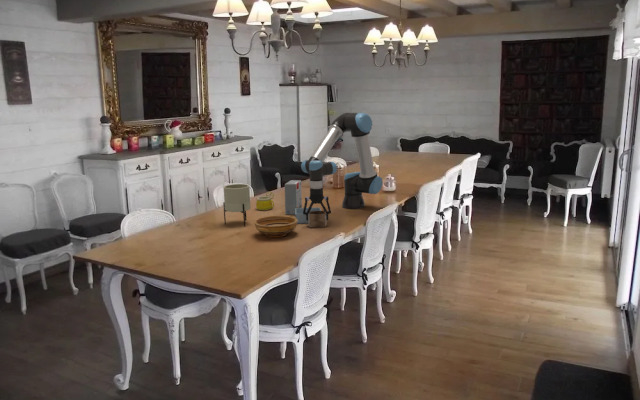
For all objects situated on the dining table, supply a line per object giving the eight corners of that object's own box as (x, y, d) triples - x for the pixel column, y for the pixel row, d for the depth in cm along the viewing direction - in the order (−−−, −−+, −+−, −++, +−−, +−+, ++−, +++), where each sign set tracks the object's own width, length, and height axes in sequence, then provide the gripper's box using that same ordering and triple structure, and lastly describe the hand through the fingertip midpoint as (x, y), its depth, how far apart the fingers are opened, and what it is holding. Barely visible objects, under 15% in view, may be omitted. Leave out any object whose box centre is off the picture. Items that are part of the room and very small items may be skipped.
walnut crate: (324, 223, 318) (324, 210, 317) (325, 227, 310) (325, 214, 308) (309, 224, 318) (309, 211, 316) (309, 228, 309) (309, 214, 308)
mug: (253, 210, 357) (252, 192, 354) (261, 207, 367) (260, 189, 364) (270, 211, 352) (269, 193, 350) (277, 208, 362) (277, 190, 360)
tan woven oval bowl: (279, 244, 280) (279, 229, 278) (242, 238, 291) (241, 224, 290) (308, 230, 305) (308, 216, 303) (273, 225, 316) (273, 212, 315)
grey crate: (320, 216, 335) (320, 207, 334) (321, 222, 320) (321, 213, 319) (295, 217, 335) (295, 208, 333) (295, 223, 319) (295, 214, 318)
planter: (256, 221, 328) (254, 184, 323) (242, 227, 314) (240, 189, 309) (235, 219, 334) (233, 183, 329) (220, 225, 320) (218, 187, 315)
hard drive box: (296, 215, 341) (295, 184, 337) (285, 214, 343) (283, 184, 339) (302, 209, 356) (301, 180, 352) (291, 209, 358) (290, 179, 353)
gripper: (334, 185, 313) (335, 223, 318) (297, 187, 312) (298, 224, 317) (335, 188, 306) (336, 226, 310) (297, 189, 305) (298, 227, 310)
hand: (317, 225), depth 314 cm, fingers closed on walnut crate, 9 cm apart
